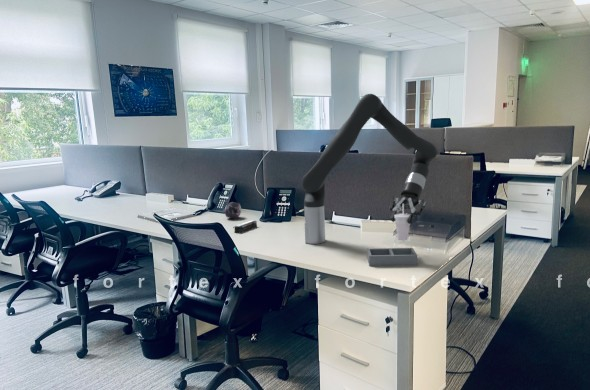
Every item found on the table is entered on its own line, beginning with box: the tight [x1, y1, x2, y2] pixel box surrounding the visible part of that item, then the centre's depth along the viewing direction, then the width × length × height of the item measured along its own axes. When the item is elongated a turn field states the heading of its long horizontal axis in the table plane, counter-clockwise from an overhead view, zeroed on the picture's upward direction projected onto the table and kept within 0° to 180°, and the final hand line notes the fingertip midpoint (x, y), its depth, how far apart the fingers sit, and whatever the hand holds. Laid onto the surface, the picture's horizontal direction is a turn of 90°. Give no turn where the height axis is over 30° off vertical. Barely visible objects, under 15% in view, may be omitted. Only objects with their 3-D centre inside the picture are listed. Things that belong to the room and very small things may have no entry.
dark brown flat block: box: [232, 220, 258, 234], centre depth 228 cm, size 14×25×4 cm, turn 147°
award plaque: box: [136, 207, 198, 224], centre depth 269 cm, size 25×30×2 cm
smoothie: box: [394, 204, 410, 241], centre depth 164 cm, size 6×6×14 cm
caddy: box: [366, 247, 418, 267], centre depth 167 cm, size 18×10×4 cm, turn 85°
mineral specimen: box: [224, 201, 242, 219], centre depth 254 cm, size 10×10×10 cm
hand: (400, 221), depth 163 cm, fingers closed on smoothie, 6 cm apart
